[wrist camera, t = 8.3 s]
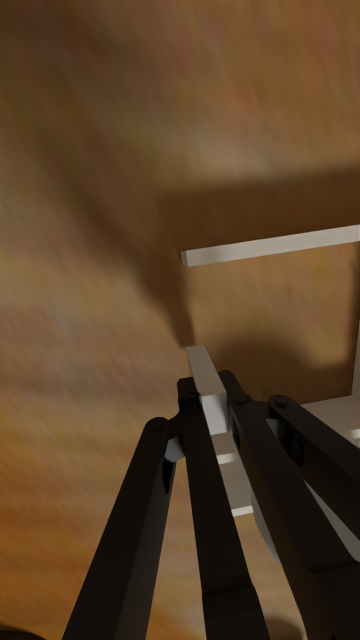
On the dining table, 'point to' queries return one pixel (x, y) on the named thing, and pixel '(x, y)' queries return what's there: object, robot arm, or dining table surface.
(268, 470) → the robot arm
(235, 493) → the dish rack
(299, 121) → the dining table surface
